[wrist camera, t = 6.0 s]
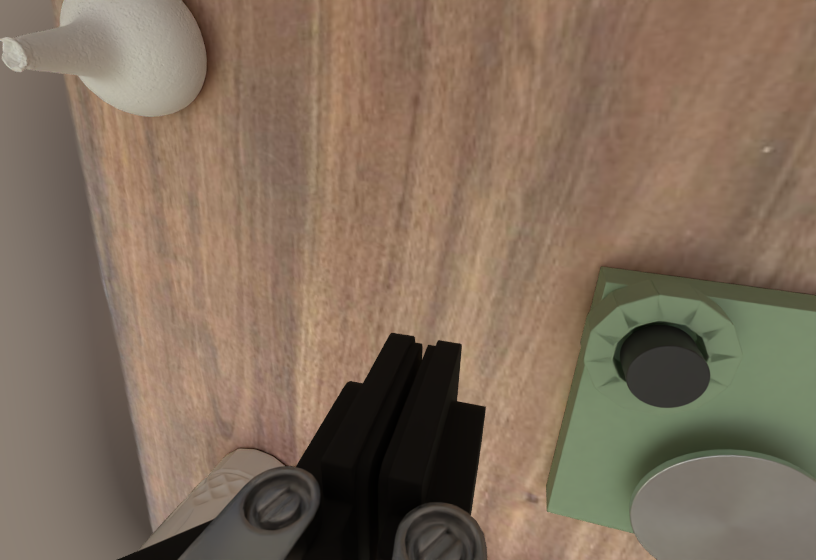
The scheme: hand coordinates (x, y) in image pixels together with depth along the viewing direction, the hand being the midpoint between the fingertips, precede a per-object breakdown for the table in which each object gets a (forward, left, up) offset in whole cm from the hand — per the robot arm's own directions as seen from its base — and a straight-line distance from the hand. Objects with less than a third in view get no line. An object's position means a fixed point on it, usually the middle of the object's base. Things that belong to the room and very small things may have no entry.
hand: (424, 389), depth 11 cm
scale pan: (+12, +13, -10) cm, 20 cm away
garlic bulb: (-7, -17, -14) cm, 23 cm away
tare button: (+4, +8, -10) cm, 14 cm away
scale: (+9, +12, -13) cm, 20 cm away
